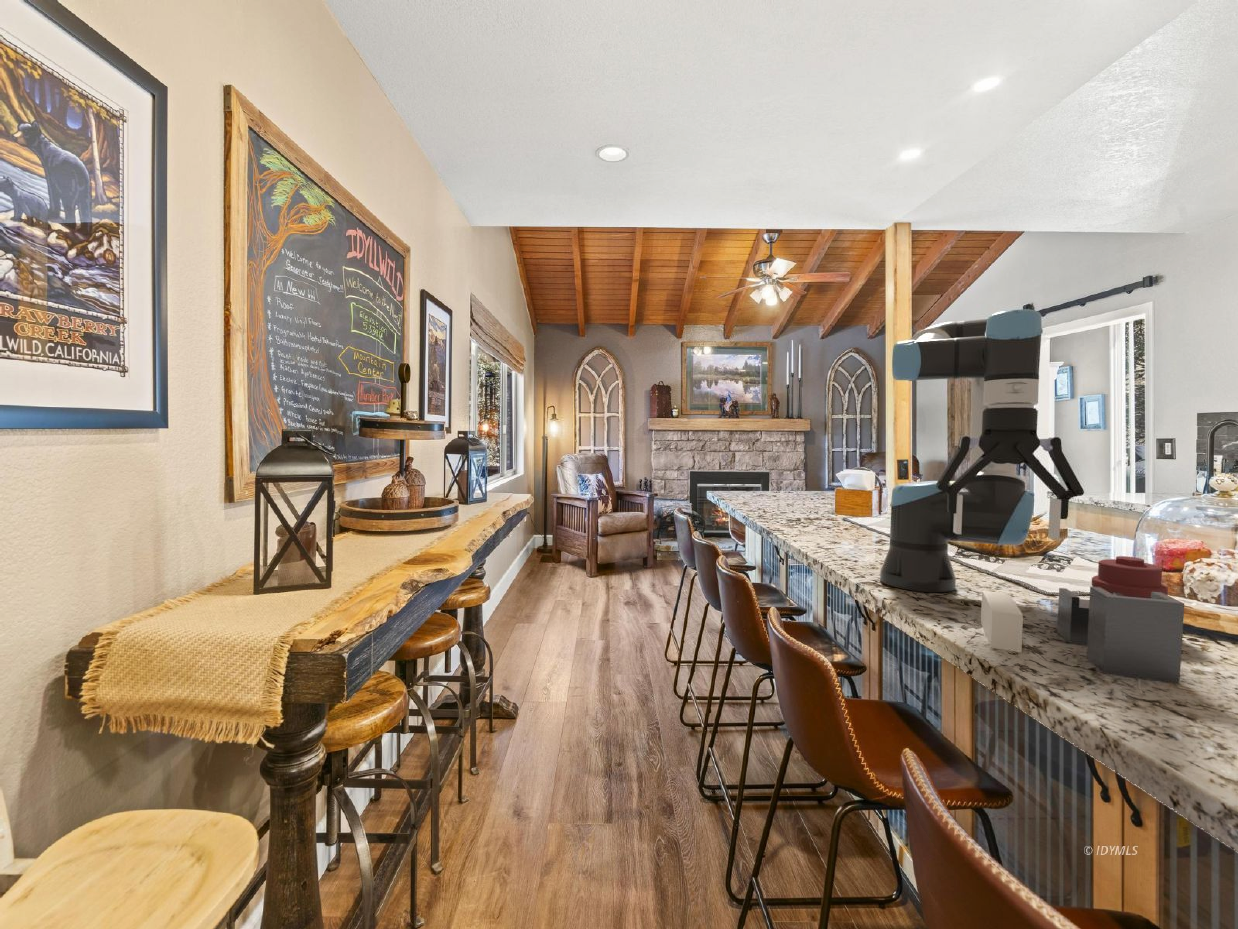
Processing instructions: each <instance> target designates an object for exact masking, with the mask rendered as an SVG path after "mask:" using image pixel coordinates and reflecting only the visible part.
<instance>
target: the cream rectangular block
mask: <svg viewBox="0 0 1238 929" xmlns="http://www.w3.org/2000/svg"><path fill="white" fill-rule="evenodd" d="M1023 622H1024V614H1023V613H1022V611H1021V609H1020V608H1019V607H1018V606H1017V604H1016V602H1015V600H1014V599H1013V597H1012V596H1011V595H1010V593H1009V592H1000V591H991V590H981V610H980V624H981V627H982V628H983V632H984V634H985V636H986V640H987V642H988V644H989V646H990V649H996V650H1004V651H1011V652H1018V653H1021V652H1022V644H1023Z"/></svg>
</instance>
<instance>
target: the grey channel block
mask: <svg viewBox="0 0 1238 929" xmlns="http://www.w3.org/2000/svg"><path fill="white" fill-rule="evenodd" d="M1113 595H1115V596H1124V595H1123V594H1121V593H1113ZM1089 601H1090V599H1084V598H1083V599H1082V598H1080V597H1079V596H1078V595H1076V594H1075V593H1074V592H1072V591H1071V590H1069V589H1067V588H1065V587H1058V606H1057V623H1056V624H1057V627H1056V629H1057V630H1056V632H1057V633H1058V634H1059V635H1060V636H1061V637H1062V638H1063V639H1064V640H1066V642H1068V643H1069V644H1072V645H1073V644H1075V645H1083V646H1087V639H1088V620H1089Z"/></svg>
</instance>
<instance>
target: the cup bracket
mask: <svg viewBox="0 0 1238 929" xmlns="http://www.w3.org/2000/svg"><path fill="white" fill-rule="evenodd" d="M1089 600H1090V601H1089V620H1088V639H1087V645H1086V660H1087V661H1088V662H1090V664H1091V665H1093V666H1094V668H1096V669H1097V670H1098V671H1099V672H1101V673H1102V674H1104V675H1111V676H1119V677H1125V678H1134V679H1142V680H1151V681H1157V682H1165V683H1171V684H1180V683H1181V682H1180V680H1181V667H1182V647H1183V634H1184V633H1183V632H1184V631H1183V630H1184V616H1185V615H1184V614H1185V602H1181V601H1180V600H1178V599H1176V598H1173V597H1172V596H1170V595H1166V594H1164V593H1161V592H1151V599H1149V598H1137V597H1126V596H1115V595H1113V594H1111V593H1109V592H1107V591H1106V590H1104V589H1102V588H1101V587H1093V586H1092V585H1091V586H1089Z"/></svg>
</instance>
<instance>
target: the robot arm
mask: <svg viewBox="0 0 1238 929" xmlns="http://www.w3.org/2000/svg"><path fill="white" fill-rule="evenodd" d="M1043 330H1044V329H1043V328H1042V314H1041V312H1040V311H1037V310H1034V309H1011V310H1004V311H997V312H995V313H993V314H991V315H990V316H989V317H988V318H985V319H982V318H981V319H969V320H959V321H958V320H957V321H956V320H955V321H952V320H951V321H946V322H941V323H938V324H935V325H931V326H929V327H926V328H923V329H921V330H920V331H918V332H917V333H915V334H913V336H911V338H910V339H909V340H903V341H897V342H896V343H895V344H894V345H893V347H892V354H891V355H892V360H891V362H892V363H891V366H892V367H891V369H892V370H891V372H892V378H893V379H894V380H896V381H909V382H915V381H927V380H928V381H929V380H930V381H931V380H948V379H950V380H952V379H953V380H957V379H958V380H963V379H964V380H965V379H967V380H968V381H970V382H971V391H970V392H971V394H970V396H971V398H970V399H971V400H970V401H971V402H970V407H971V408H970V437H969V436H968V435H967V436H965V435H964V436H963V435H962V436H961V437H959V440H958V446H957V450H956V452H955V453H954V455H953V456H952V458H951V459H950V460H949V462H948V464H947V466H946V468H945V469H944V471H943V472H942V474H941V476H940V477H939V479H938V480H925V481H916V482H915V481H914V482H906V483H900V484H898V485H895V486H894V487H893V489H892V492H891V502H890V504H889V507H890V508H891V510H890V527H889V528H890V532H889V548H888V551H887V553H886V556H885V558H884V561H883V563H882V566H881V568H880V575H879V580H880V582H881V583H883V584H885V585H888V586H889V587H890V586H891V587H893V588H898V589H902V590H906V591H914V592H921V593H922V592H923V593H924V592H925V593H946V592H952V591H954V590H956V586H957V585H956V582H957V579H956V575H955V572H954V570H953V569H954V568H953V566H952V563H951V562H952V561H951V558H950V557H949V553H948V550H949V548H948V547H949V541H950V542H951V541H952V542H953V541H954V542H965V543H975V544H985V545H986V544H988V545H996V546H999V547H1000V546H1020V545H1022V544H1023V543H1025V541H1027V538H1028V535H1029V531H1030V527H1031V523H1032V518H1033V514H1034V507H1035V492H1034V491H1032V490H1030V489H1027V490H1026V482H1025V480H1024V479H1023V478H1021V477H1020V476H1018V475H1017V465H1022V464H1023V463H1024V464H1025V465H1026V466H1027V467H1028V468H1029V469H1030V470H1031V471H1032V472H1033V473H1034V475H1036V476H1037V477H1038V479H1039V480H1040V481H1041V482H1042V483H1043V484H1044V485H1045V486H1046V487H1047V488H1048V489H1049V490H1050V491H1051V492H1052V494H1054V496H1055V497H1050V498H1049V508H1048V509H1049V511H1048V515H1049V517H1048V532H1047V534H1048V535H1047V538H1048V539H1051V540H1053V541H1058V542H1059V541H1060V537H1061V536H1060V535H1061V534H1060V533H1061V520H1067V518H1068V517H1069V501H1070V500H1071V499H1072V498H1076V497H1079V496H1080V497H1081V496H1083V495H1084V494H1085V491H1084V488H1083V487H1082V485H1081V483H1080V481H1079V479H1078V477H1077V475H1076V474H1075V472H1074V470H1073V469H1072V466H1071V464H1070V463H1069V460H1067V458H1066V456H1065V454H1064V452H1063V448H1062V440H1061V438H1060V437H1057V436H1052V437H1051V436H1050V437H1048V438H1040V439H1039V436H1038V416H1039V413H1038V412H1039V410H1038V409H1037V408H1034V406H1035V405H1038V404H1039V386H1040V384H1039V383H1040V360H1041V345H1042V334H1043V332H1044V331H1043ZM1040 446H1041V447H1042V449H1043V450H1044V451H1045V452H1047V453H1048V456H1049V457H1050V459H1051V461H1052V463H1053V465H1054V466H1055V469H1056V470H1057V471H1058V474H1059V476H1060V477H1061V479H1062V481H1063V482H1064V485H1065V487H1066V488H1067V489H1066V488H1065V487H1064V486H1063V485H1062V484H1061V483H1060V482H1059V481H1058V480H1057V479H1056V478H1055V477H1054V475H1053V474H1052V473H1050V472H1049V470H1048V469H1047V468H1046V467H1045V466H1044V465H1043V464H1042V463H1041V461H1040V460H1039V459H1038V458H1037V456H1035V454H1034V452H1036V451H1037V450H1038V449H1039V447H1040ZM968 453H969V467H968V468H967V470H965V471H964V472H963V473H962V474H961V475H960V476H959V477H958V478H957V479H956V480H955V481H954V482H953V483H952V484H951V480H952V479H953V477H954V476H955V473H956V472H957V471H958V469H959V467H960V466H961V465H962V463H963V461H964V459H965V458H966V456H967V454H968Z"/></svg>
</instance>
